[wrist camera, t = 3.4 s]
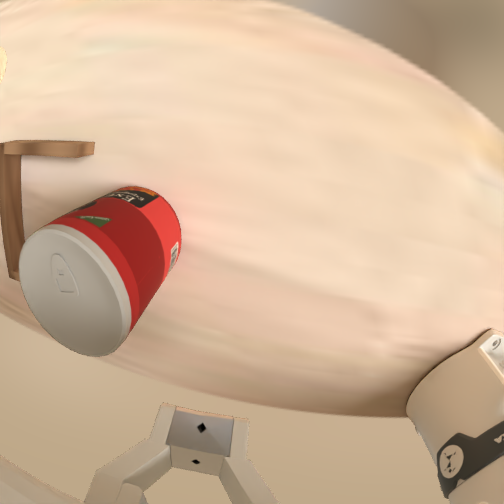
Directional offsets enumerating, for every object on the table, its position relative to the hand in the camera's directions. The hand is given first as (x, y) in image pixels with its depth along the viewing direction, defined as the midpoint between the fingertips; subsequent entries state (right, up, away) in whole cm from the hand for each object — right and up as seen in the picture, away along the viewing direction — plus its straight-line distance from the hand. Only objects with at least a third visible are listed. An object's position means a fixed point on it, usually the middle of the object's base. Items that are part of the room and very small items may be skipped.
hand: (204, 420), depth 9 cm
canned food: (-7, +8, +15) cm, 18 cm away
